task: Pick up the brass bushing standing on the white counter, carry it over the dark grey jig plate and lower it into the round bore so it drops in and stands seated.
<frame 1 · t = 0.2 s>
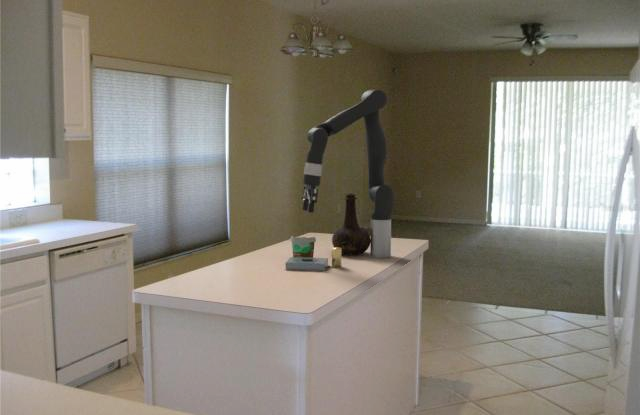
hand: (307, 211, 276), 22 cm above the table, tool pointing down, fingers open, 8 cm apart
food container: (300, 259, 285), on the table
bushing: (336, 266, 268), on the table
jig: (307, 267, 266), on the table
glass bottle: (351, 254, 299), on the table
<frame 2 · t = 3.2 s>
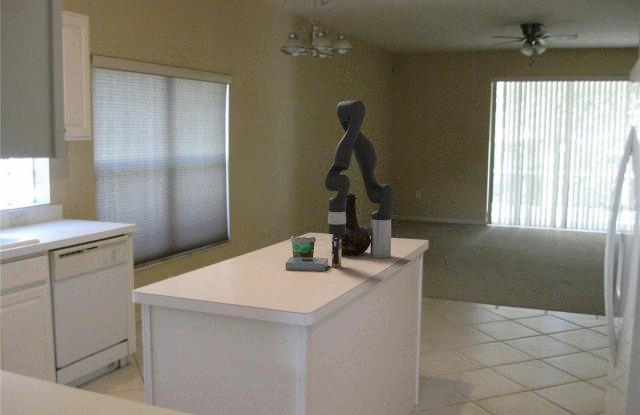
hand: (336, 262, 267), 2 cm above the table, tool pointing down, fingers closed on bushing, 4 cm apart
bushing: (336, 266, 268), on the table, touching gripper
everything else where it was.
when the fingers open (4 cm above the table, at t = 7.9 s): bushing drops 2 cm, resting in jig.
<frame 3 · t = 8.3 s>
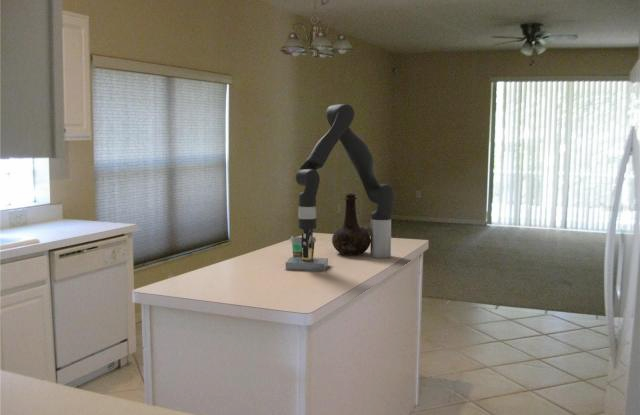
hand: (307, 255, 266), 5 cm above the table, tool pointing down, fingers open, 8 cm apart
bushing: (307, 267, 266), resting in jig
everything else where it was.
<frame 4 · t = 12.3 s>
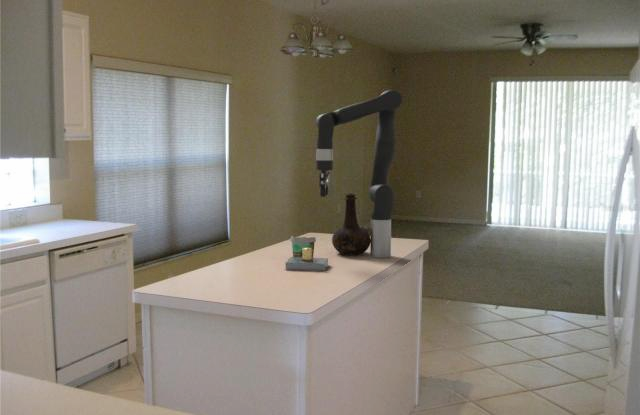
hand: (324, 195, 284), 28 cm above the table, tool pointing down, fingers open, 8 cm apart
nothing on the table moved.
at the end: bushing 0.0 cm off-centre in the jig, point 0.0 cm above the jig's base; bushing tilted 0°; the gripper is holding nothing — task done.
